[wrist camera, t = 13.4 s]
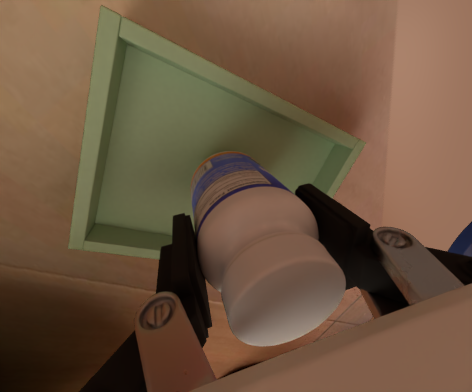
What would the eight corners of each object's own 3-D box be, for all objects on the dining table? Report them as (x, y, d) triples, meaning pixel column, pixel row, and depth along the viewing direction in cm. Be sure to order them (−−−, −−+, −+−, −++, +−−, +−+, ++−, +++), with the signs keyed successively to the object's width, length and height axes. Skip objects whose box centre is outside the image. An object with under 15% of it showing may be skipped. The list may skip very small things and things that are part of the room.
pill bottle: (269, 201, 16) (368, 316, 8) (206, 228, 16) (240, 379, 8) (251, 136, 14) (372, 206, 5) (174, 166, 13) (173, 295, 5)
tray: (340, 135, 17) (366, 142, 15) (273, 254, 22) (285, 274, 19) (116, 23, 11) (100, 4, 9) (84, 223, 15) (67, 248, 13)
